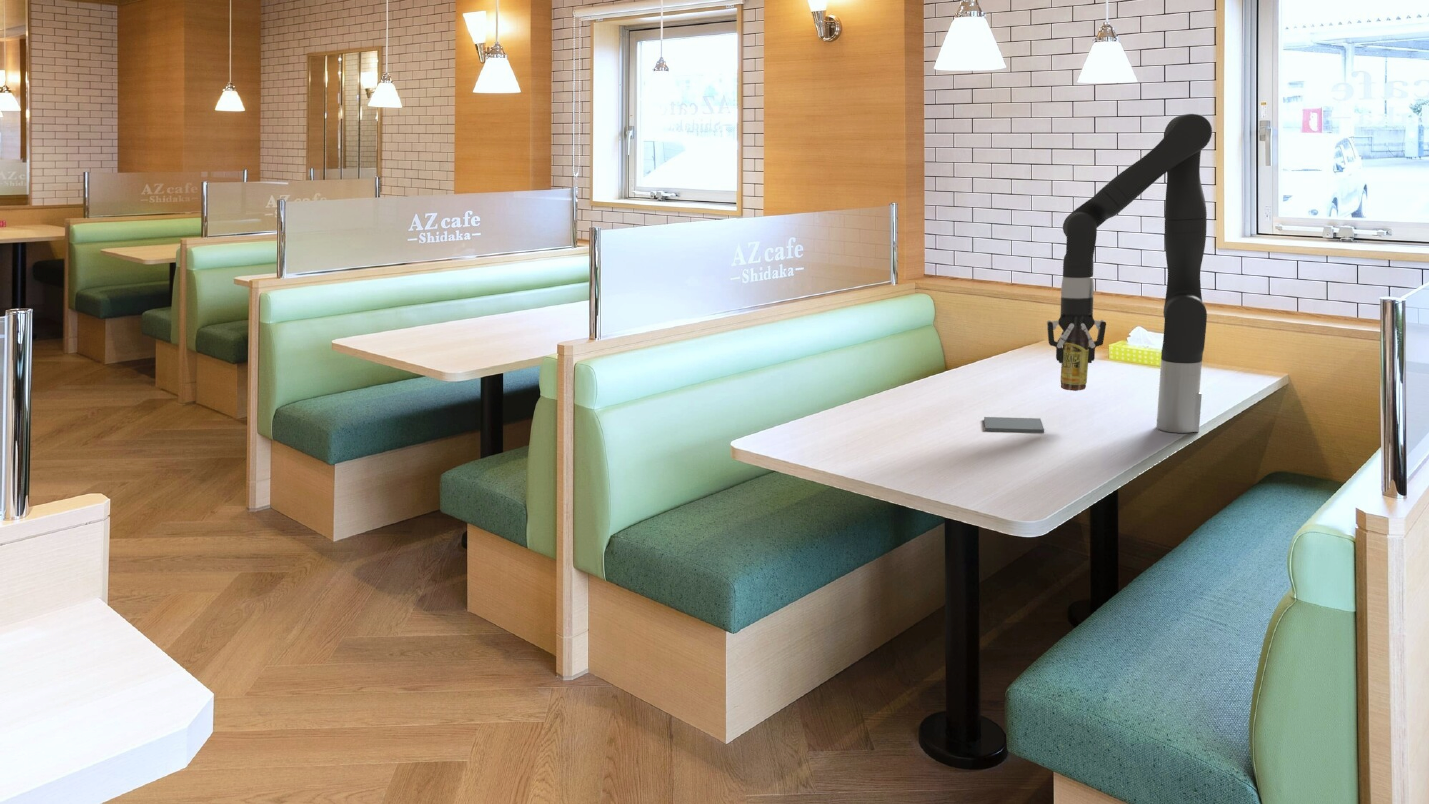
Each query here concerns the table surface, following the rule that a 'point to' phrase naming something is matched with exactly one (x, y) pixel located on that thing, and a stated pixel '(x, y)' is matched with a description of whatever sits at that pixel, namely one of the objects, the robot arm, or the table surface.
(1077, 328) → the sauce bottle
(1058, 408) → the table surface
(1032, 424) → the placemat
